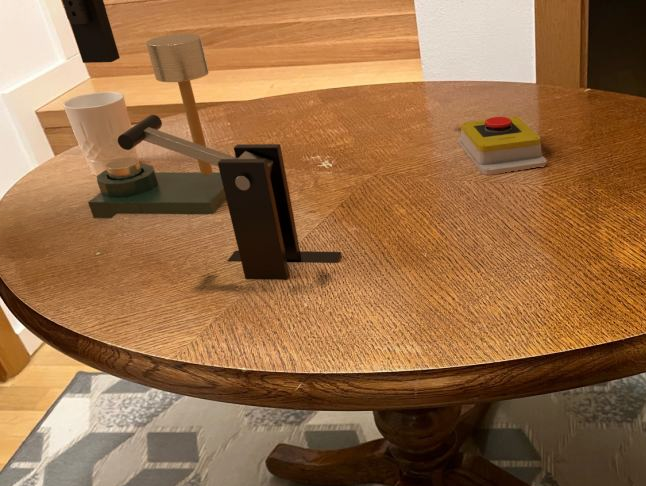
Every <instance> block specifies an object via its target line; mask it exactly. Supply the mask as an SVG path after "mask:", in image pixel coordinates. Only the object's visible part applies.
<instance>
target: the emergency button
mask: <svg viewBox="0 0 646 486" xmlns="http://www.w3.org/2000/svg"><path fill="white" fill-rule="evenodd" d="M457 142H458V145H459V146H460V147H461V148H462V150H463V151H464V152H465V154H466V155H467V156H468V157H469V159H470V160H471V161H472V163H473V164H474V165H475V167H476V168H477V169H478V170H479V171H480V173H481V174H483V175H486V176H490V175H491V176H492V175H499V174H506V173H505V172H507V173H512V172H511V171H514V172H519V171H518V170H522V171H524V170H523V169H528V168H533V167H540V166H545V165H546V164H547V165H548V159H546V157H545V156H544V155H543V154H542V138H541V136H540V135H539V134H538V133H537V132H536V131H535V130H533V128H532V127H530V126H529V125H528V124H527V123H526V122H525V121H523V119H521V118H520V117H519V116H514V115H513V116H494V117H489V118H487V119H480V120H479V119H478V120H472V121H471V120H470V121H465V122H464V121H463V122H462V123H461V125H460V136H458V141H457Z"/></svg>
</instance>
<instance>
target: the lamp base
mask: <svg viewBox="0 0 646 486" xmlns="http://www.w3.org/2000/svg"><path fill="white" fill-rule="evenodd" d="M140 166H141V170H142V174H141V175H139V176H136V177H134V178H131V179H125V180H110V178H109V175H108V172H107V170H105V171H103V172H102V173H100V174H99V175H98V176H96V182H97V185H98V188H99V191H100V192H99V193H98V194H97V195H96V196H94V197H93V198H91V199H90V200H88V202H87V204H88V206H89V209H90V212H91V215H92V216H93V217H92V218H93V219H113V217H115V216H116V215H119V214H121V215H123V214H124V215H126V214H127V215H214V213H216V212H217V211H218V209H220V207H221V206H222V205H223V204H224V203H225V202H227V200H226V196H225V191H224V187H223V183H222V179H221V175H220V171H219V172H213V171H212V174H209V175H202V174H201V171H200V172H197V171H195V172H194V171H192V172H190V171H187V172H182V171H181V172H180V171H179V172H174V171H173V172H170V171H169V172H167V171H166V172H165V171H163V172H159V171H158V172H157V171H155V169H154V168H155V167H154V166H153V165H149V164H147V163H140Z"/></svg>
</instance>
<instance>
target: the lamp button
mask: <svg viewBox="0 0 646 486" xmlns="http://www.w3.org/2000/svg"><path fill="white" fill-rule="evenodd" d="M140 164H141V163H140V160H139V158H138V159H136V158H121V159H117V160H114V161H111V162H109V163H107V164H106V169H107V172H108V175H109V178H110V180H125V179H131V178H134V177H136V176H139V175H141V174H142V170H141V166H140Z"/></svg>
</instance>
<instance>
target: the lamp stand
mask: <svg viewBox="0 0 646 486" xmlns="http://www.w3.org/2000/svg"><path fill="white" fill-rule="evenodd" d="M145 44H146V49H147V52H148V56H149V59H150V63H151V67H152V71H153V74H154V78H155V80H156V81H157V82H161V83H177V85H178V89H179V92H180V96H181V100H182V104H183V108H184V113H185V116H186V120H187V124H188V128H189V131H190V136H191V139H192V142H193V143H196V144H198V145H201V146H204V147H207V143H206V140H205V136H204V132H203V128H202V122H201V120H200V119H201V118H200V115H199V112H198V111H199V110H198V107H197V103H196V99H195V95H194V91H193V86H192V83H191V81H194V80H197V79H201V78H203V77H205V76H207V75H209V73H210V71H209V67H208V64H207V59H206V54H205V50H204V45H203V42H202V37H201V35H199V34H195V33H177V34H176V33H175V34H168V35H161V36H158V37H157V36H156V37H154V38H151V39H148V40H147V41H146V42H145ZM196 160H197V163H198V167H199V171H200V172H201V174H202V175H209V174H212V172H213V168H212V164H209V163H207V162H204V161H201V160H198V159H196Z"/></svg>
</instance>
